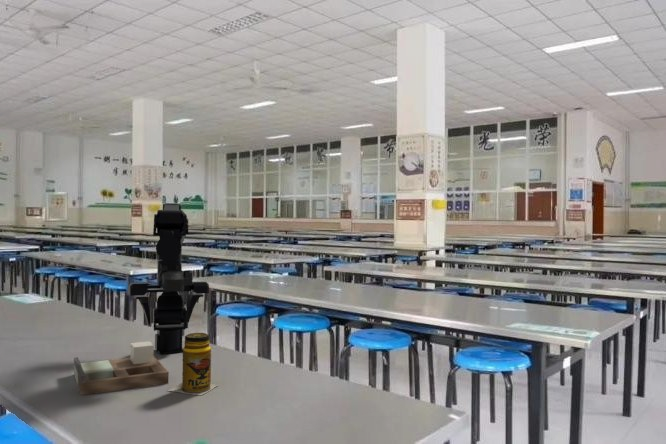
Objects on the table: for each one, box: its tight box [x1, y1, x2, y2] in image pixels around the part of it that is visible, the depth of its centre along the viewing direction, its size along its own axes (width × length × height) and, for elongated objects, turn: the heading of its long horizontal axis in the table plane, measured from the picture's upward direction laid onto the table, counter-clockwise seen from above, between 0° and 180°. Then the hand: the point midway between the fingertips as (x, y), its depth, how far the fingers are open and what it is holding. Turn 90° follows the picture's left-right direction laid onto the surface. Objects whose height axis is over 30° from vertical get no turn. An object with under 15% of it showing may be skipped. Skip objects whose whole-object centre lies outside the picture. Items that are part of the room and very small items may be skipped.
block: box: [129, 340, 155, 364], centre depth 131 cm, size 4×4×4 cm
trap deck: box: [73, 355, 169, 396], centre depth 125 cm, size 18×16×4 cm
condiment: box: [167, 332, 218, 396], centre depth 120 cm, size 7×8×12 cm
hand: (168, 323), depth 134 cm, fingers open, 9 cm apart
